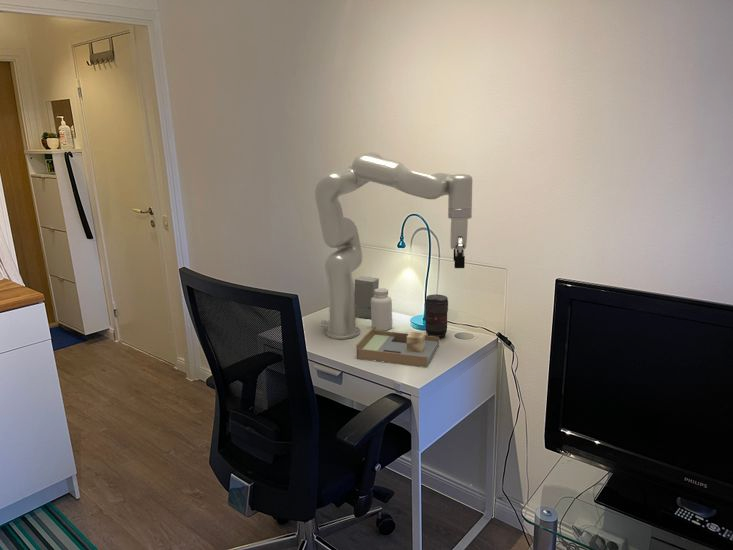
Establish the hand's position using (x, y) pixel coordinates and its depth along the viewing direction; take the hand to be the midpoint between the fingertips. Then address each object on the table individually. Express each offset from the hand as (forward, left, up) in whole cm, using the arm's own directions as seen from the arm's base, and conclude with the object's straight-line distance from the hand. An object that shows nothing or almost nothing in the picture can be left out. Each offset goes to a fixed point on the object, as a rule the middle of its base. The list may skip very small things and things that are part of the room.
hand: (458, 264), depth 187 cm
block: (-12, -10, -28) cm, 32 cm away
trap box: (-18, -10, -30) cm, 36 cm away
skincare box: (-41, +22, -30) cm, 56 cm away
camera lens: (-9, +8, -30) cm, 33 cm away
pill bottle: (-31, +11, -30) cm, 45 cm away
